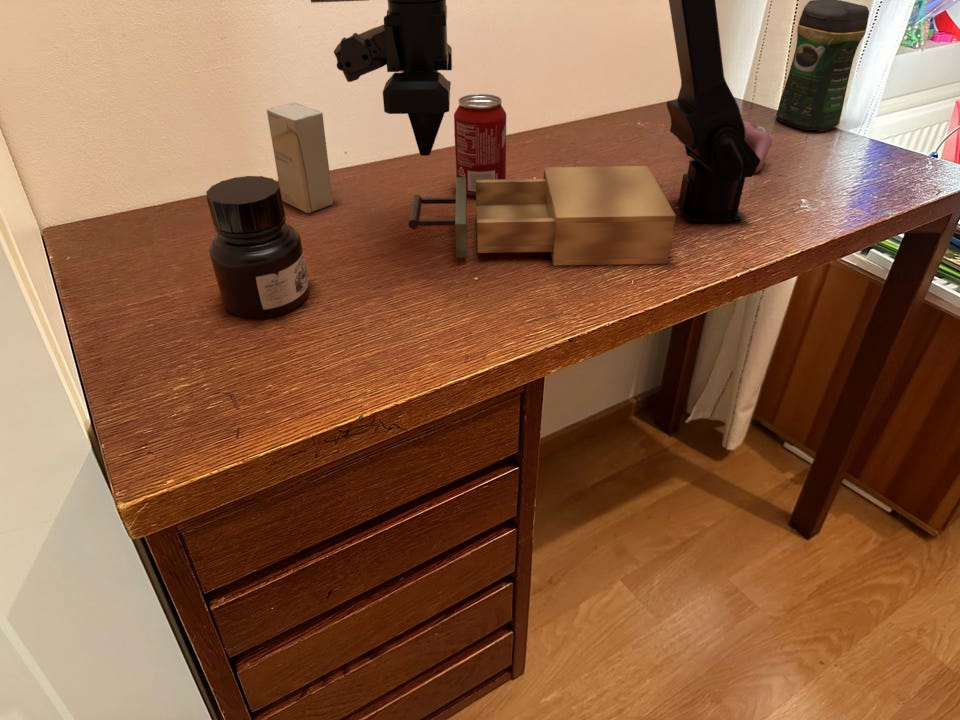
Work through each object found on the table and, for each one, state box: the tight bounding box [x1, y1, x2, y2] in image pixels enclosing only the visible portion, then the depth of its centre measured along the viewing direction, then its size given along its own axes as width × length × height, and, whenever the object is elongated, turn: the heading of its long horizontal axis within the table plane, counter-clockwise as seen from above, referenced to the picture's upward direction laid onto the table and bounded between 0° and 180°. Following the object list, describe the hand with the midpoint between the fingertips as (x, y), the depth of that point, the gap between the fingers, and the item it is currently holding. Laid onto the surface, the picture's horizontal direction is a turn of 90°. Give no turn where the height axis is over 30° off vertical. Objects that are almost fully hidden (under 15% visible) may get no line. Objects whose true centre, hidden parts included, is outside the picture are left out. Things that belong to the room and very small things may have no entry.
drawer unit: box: [543, 165, 677, 267], centre depth 82 cm, size 13×14×6 cm
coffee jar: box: [776, 0, 870, 132], centre depth 110 cm, size 10×8×19 cm
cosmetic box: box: [266, 101, 334, 214], centre depth 88 cm, size 6×4×12 cm
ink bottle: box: [205, 175, 310, 318], centre depth 69 cm, size 10×9×12 cm
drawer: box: [407, 176, 555, 259], centre depth 82 cm, size 17×13×4 cm
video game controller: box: [743, 120, 773, 174], centre depth 101 cm, size 10×5×7 cm, turn 58°
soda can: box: [453, 93, 507, 198], centre depth 91 cm, size 7×7×12 cm
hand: (425, 154), depth 77 cm, fingers closed
